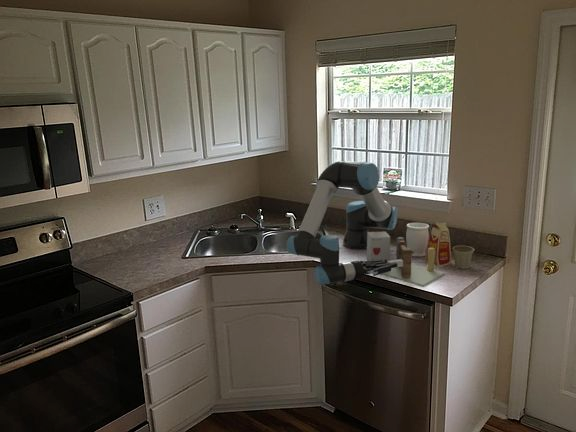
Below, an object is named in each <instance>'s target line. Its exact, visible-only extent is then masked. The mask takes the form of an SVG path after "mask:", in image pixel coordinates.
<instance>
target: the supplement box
mask: <svg viewBox="0 0 576 432" xmlns="http://www.w3.org/2000/svg"><path fill="white" fill-rule="evenodd" d="M390 256H391V236H390V235H389V233H387V231H369V232H367V248H366V261H372V260H383V261H385V259H387V261H391V259H390V258H391V257H390Z"/></svg>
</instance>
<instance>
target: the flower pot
mask: <svg viewBox="0 0 576 432" xmlns="http://www.w3.org/2000/svg"><path fill="white" fill-rule="evenodd" d="M451 248H452V250H453V251H452V252H453V258H454V267H455V268H457V269H463V270H467V269H469V268H470V266H471V261H472V256H473V254H474V252H475V248H474V247H472V246H467V245H456V246H453V247H451Z"/></svg>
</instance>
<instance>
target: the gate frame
mask: <svg viewBox="0 0 576 432" xmlns="http://www.w3.org/2000/svg"><path fill="white" fill-rule="evenodd" d="M399 241H405V237H402V236H399V237H396V255H395V256H396V257H395V260H398V248H399ZM434 258H435V248H428V263H427V267H424V266H423V267H422V266H419V265H415V264H412V263H411V277H402V275H401V268H399V267H397V268H391V271H389V272H386V273H382V274H379V275H381V276H384V277H388V278H391V279H395V280H398V281H402V282H405V283H409V284H413V285H415V286H418V287H422V288H424V287H426V286H427V285H429V284H431V283H432V282H435V281H436V280H437V279H440V278H441V277H443V276H444V275H446V274H445V272H442V271H438V270H436V269H435V266H434Z"/></svg>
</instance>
